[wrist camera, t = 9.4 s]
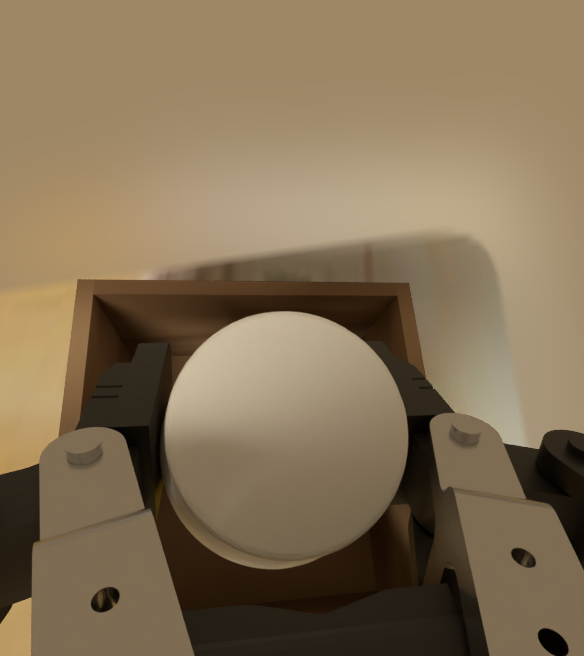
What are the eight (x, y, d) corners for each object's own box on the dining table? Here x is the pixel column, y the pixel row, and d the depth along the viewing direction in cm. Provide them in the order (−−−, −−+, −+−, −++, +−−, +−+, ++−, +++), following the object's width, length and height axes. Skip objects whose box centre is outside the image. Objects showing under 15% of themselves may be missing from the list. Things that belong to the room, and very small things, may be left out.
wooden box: (384, 600, 18) (474, 654, 12) (101, 632, 16) (23, 716, 10) (353, 345, 22) (408, 280, 16) (123, 348, 20) (78, 276, 14)
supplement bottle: (171, 410, 15) (119, 308, 7) (303, 382, 16) (380, 267, 8) (195, 564, 13) (163, 642, 6) (340, 522, 14) (478, 538, 7)
